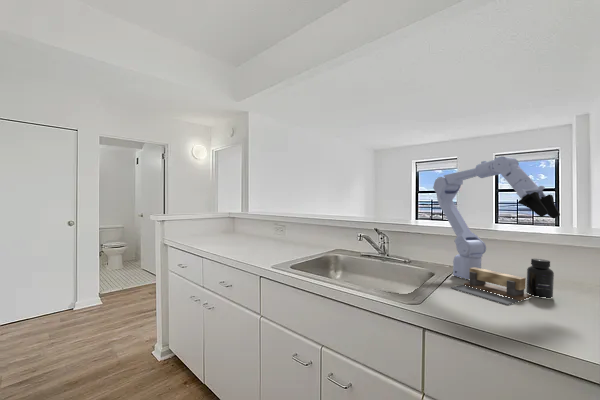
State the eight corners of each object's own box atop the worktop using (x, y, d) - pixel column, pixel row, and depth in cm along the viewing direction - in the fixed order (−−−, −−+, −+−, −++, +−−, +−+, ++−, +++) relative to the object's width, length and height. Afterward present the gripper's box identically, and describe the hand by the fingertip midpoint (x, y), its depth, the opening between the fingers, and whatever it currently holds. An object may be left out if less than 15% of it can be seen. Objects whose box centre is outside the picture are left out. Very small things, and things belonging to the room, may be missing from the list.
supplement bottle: (543, 300, 90) (543, 262, 90) (521, 293, 96) (521, 258, 96) (558, 298, 92) (559, 261, 92) (536, 292, 98) (536, 257, 98)
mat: (450, 288, 100) (450, 287, 100) (462, 285, 104) (462, 284, 104) (507, 305, 85) (507, 304, 85) (519, 301, 88) (519, 300, 88)
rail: (469, 277, 104) (469, 268, 104) (475, 276, 106) (475, 267, 106) (519, 290, 90) (519, 279, 90) (525, 288, 91) (525, 278, 91)
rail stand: (463, 285, 104) (463, 270, 104) (474, 283, 107) (475, 268, 107) (520, 301, 88) (520, 283, 88) (531, 298, 91) (531, 281, 91)
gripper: (521, 172, 91) (552, 206, 83) (543, 178, 98) (574, 210, 90) (501, 187, 96) (529, 220, 88) (524, 191, 103) (552, 222, 95)
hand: (550, 216), depth 89 cm, fingers open, 7 cm apart
